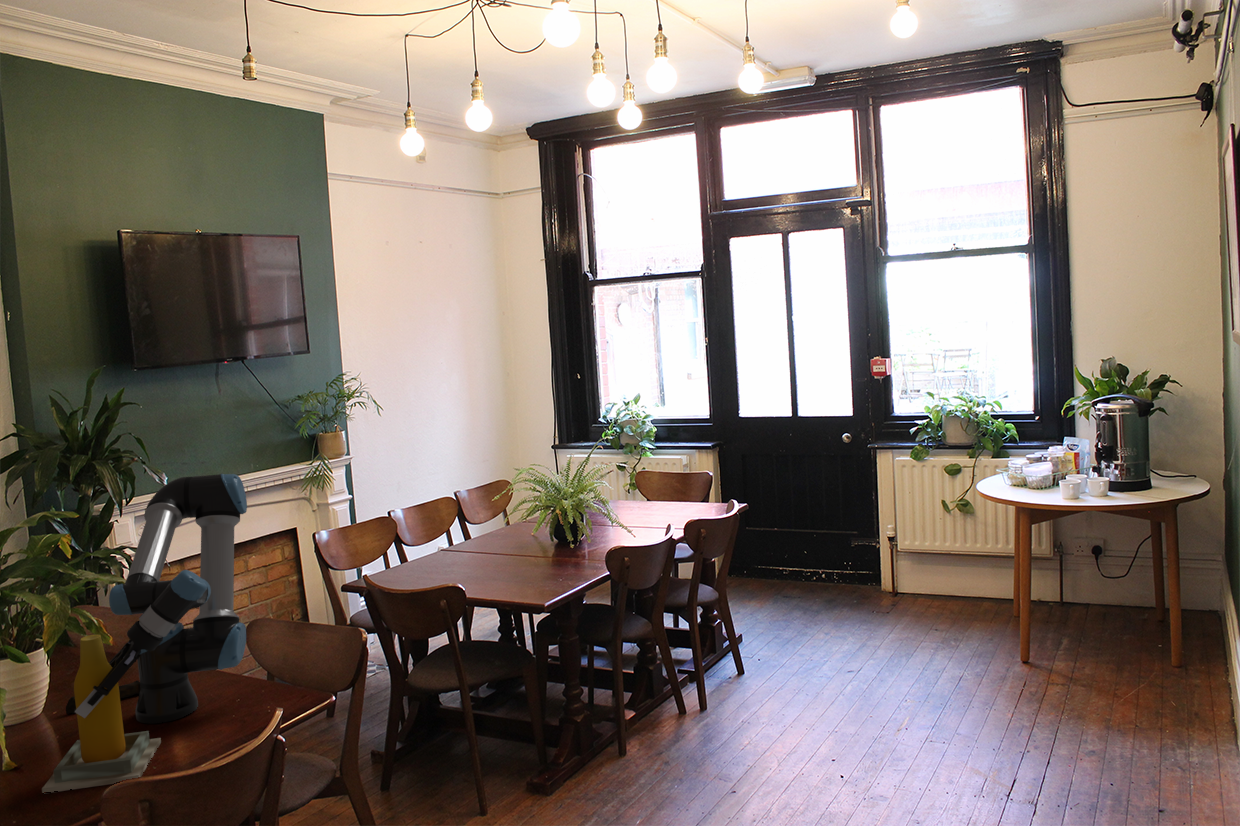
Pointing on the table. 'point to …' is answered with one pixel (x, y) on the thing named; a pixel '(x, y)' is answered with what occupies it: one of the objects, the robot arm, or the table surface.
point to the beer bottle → (98, 706)
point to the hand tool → (123, 691)
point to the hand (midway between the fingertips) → (82, 706)
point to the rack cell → (103, 765)
